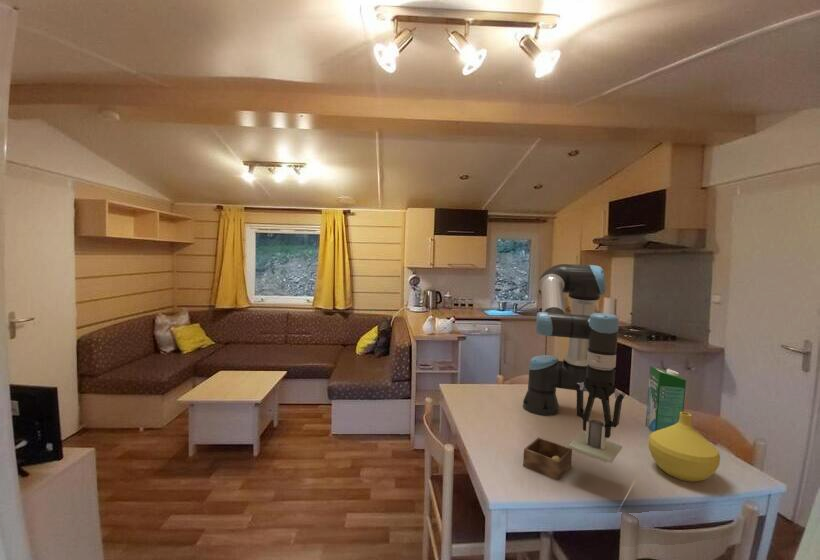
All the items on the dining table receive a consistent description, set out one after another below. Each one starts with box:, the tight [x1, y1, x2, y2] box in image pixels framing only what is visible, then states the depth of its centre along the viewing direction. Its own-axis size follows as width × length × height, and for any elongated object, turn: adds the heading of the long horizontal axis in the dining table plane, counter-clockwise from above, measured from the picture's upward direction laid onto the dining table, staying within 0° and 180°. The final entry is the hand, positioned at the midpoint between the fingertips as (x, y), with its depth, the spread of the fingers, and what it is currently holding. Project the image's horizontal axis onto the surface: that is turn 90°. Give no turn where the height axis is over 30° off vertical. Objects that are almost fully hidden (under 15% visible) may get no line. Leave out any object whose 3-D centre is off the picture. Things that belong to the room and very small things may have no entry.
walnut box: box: [522, 437, 573, 481], centre depth 120 cm, size 11×11×6 cm
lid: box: [567, 419, 623, 464], centre depth 112 cm, size 12×12×9 cm
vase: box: [648, 411, 721, 483], centre depth 120 cm, size 18×18×19 cm
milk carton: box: [645, 365, 687, 433], centre depth 148 cm, size 9×9×25 cm
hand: (595, 444), depth 112 cm, fingers closed on lid, 4 cm apart
